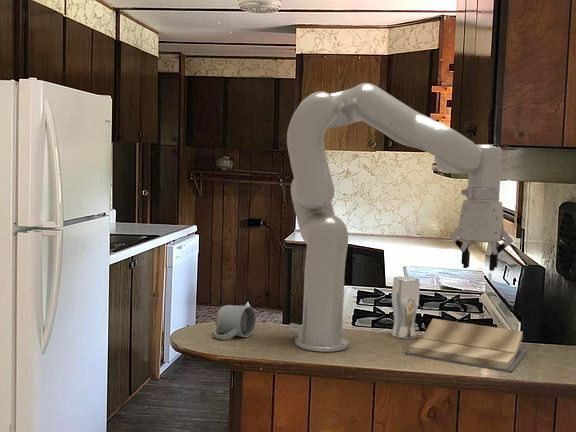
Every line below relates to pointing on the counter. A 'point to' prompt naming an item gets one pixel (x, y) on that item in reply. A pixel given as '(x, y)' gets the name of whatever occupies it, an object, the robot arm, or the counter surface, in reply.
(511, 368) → the underlay mat
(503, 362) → the board
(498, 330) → the loose plank
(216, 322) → the ceramic mug
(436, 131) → the robot arm
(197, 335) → the counter surface
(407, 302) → the beer glass
